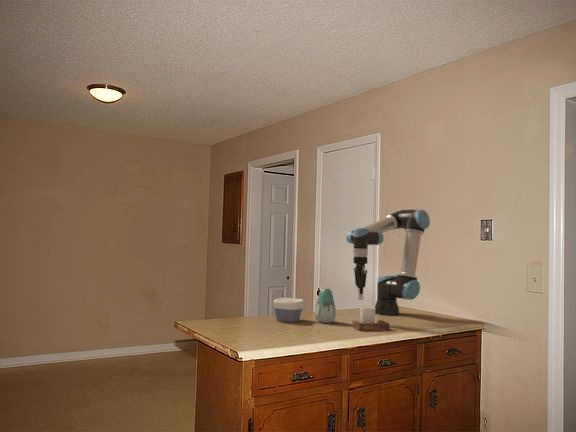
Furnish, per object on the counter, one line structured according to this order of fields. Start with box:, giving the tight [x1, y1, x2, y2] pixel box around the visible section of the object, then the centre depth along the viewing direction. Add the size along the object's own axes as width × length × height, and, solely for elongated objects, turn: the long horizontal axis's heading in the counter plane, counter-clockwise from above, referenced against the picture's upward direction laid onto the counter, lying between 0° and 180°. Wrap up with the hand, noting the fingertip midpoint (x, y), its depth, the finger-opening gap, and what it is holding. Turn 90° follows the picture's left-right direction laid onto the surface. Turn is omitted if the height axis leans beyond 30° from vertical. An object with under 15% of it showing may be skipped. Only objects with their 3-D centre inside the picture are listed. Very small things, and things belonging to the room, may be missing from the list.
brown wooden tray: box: [351, 319, 390, 332], centre depth 249 cm, size 10×16×4 cm, turn 105°
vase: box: [314, 288, 337, 324], centre depth 263 cm, size 12×12×18 cm
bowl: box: [272, 297, 305, 323], centre depth 264 cm, size 15×15×11 cm
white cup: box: [359, 306, 376, 323], centre depth 252 cm, size 8×8×10 cm
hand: (360, 299), depth 264 cm, fingers closed
